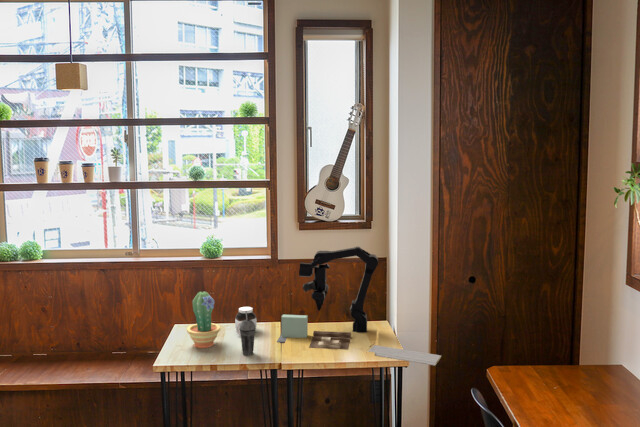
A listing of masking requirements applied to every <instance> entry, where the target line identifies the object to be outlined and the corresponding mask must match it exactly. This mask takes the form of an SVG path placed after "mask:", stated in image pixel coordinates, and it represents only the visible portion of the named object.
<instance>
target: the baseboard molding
mask: <svg viewBox="0 0 640 427" xmlns="http://www.w3.org/2000/svg"><path fill="white" fill-rule="evenodd" d="M367 352H368V353H374V356H375V357H381V358H386V357H387V358H386V359H392V358H393V360H398V361H399V360H400V361H406V362H409V363H410V362H411V363H419V364H421V365H429V366H435V367H436V365H437V364H439V362H440V360H441V358H442V354H441V355H439V354H434V353H428V352H422V351H415V350H409V349H403V348H397V347H389V346H383V345H376V343H373V344H372V345H370V346H369V349H368V350H367Z"/></svg>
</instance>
